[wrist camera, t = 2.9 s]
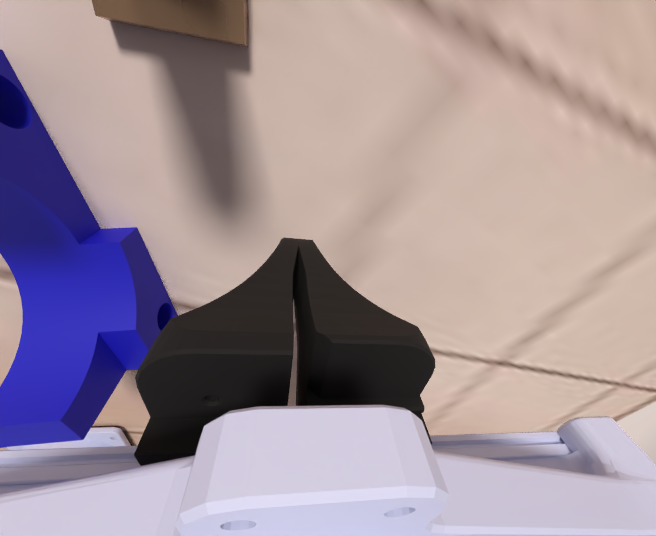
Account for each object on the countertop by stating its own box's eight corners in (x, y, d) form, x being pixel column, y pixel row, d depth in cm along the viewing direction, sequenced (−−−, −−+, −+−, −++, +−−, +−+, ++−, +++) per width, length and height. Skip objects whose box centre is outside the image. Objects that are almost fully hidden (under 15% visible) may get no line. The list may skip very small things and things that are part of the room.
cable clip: (182, 321, 15) (124, 436, 10) (99, 327, 15) (-2, 447, 10) (57, 50, 8) (-309, -6, 3) (-102, 50, 8) (-772, -11, 3)
